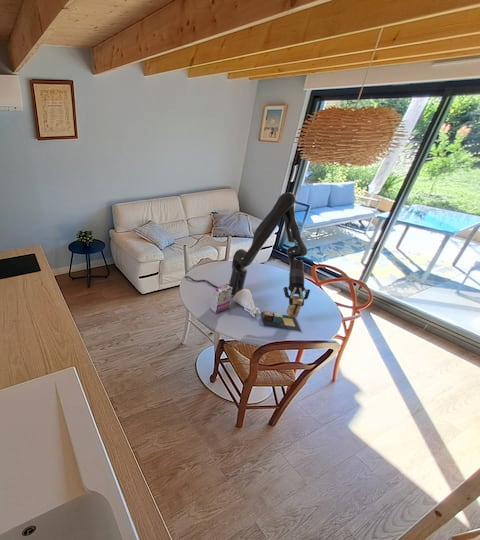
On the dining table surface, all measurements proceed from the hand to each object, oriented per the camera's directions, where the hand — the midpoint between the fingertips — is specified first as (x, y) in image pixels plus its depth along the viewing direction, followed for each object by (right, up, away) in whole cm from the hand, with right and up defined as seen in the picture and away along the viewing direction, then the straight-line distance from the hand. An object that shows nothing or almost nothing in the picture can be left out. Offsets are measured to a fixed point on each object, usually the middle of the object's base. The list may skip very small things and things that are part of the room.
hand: (296, 305), depth 164 cm
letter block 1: (-12, -10, +11) cm, 19 cm away
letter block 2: (-6, -10, +10) cm, 16 cm away
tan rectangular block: (+1, -6, +6) cm, 8 cm away
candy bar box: (-37, -5, +21) cm, 43 cm away
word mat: (-4, -11, +9) cm, 15 cm away
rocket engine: (-21, -5, +21) cm, 30 cm away
